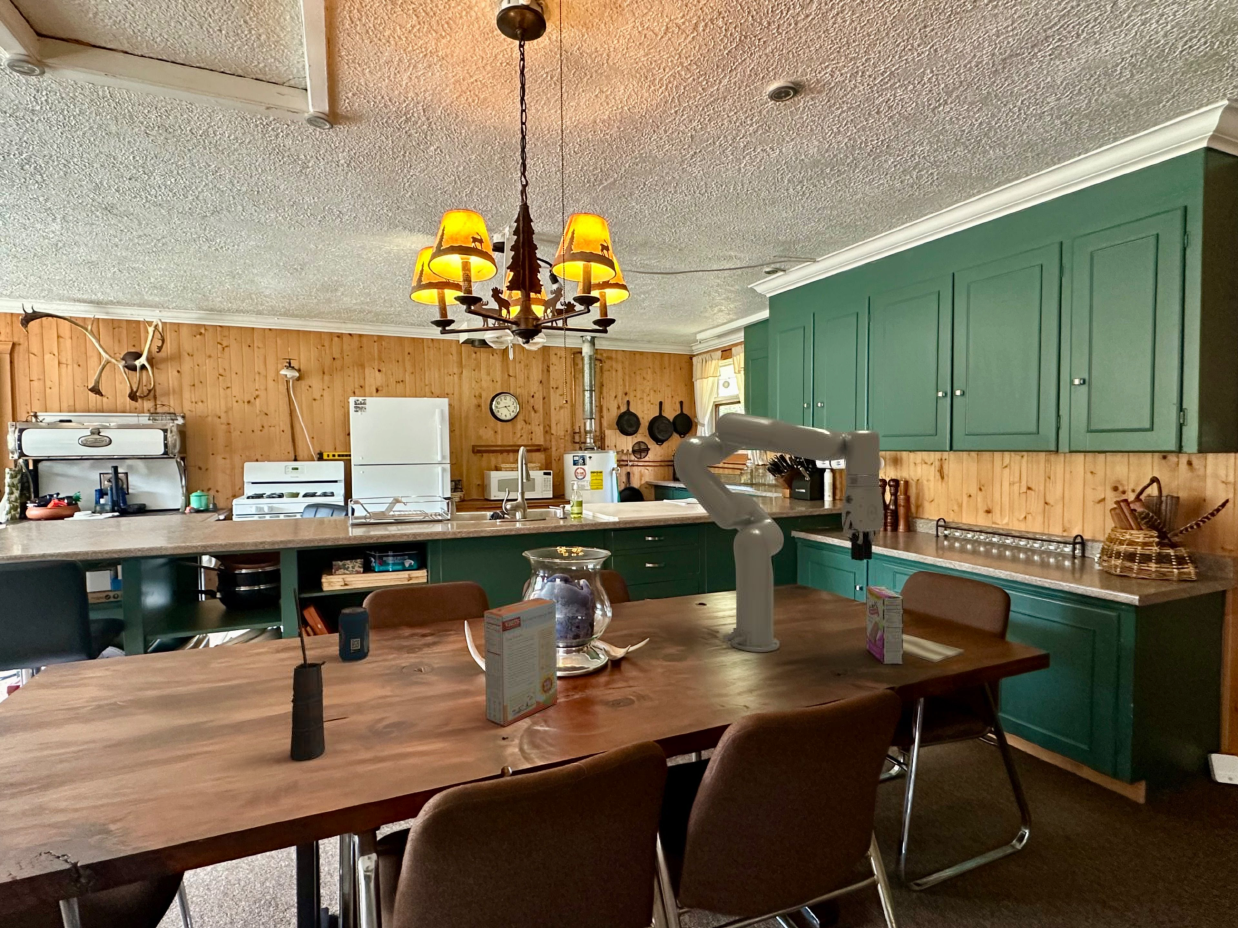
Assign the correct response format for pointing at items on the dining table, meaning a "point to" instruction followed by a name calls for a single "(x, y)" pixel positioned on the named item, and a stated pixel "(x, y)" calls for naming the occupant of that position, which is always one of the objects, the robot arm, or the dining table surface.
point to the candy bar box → (884, 624)
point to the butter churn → (307, 705)
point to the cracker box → (520, 660)
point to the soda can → (354, 634)
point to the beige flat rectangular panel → (928, 649)
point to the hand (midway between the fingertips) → (861, 558)
